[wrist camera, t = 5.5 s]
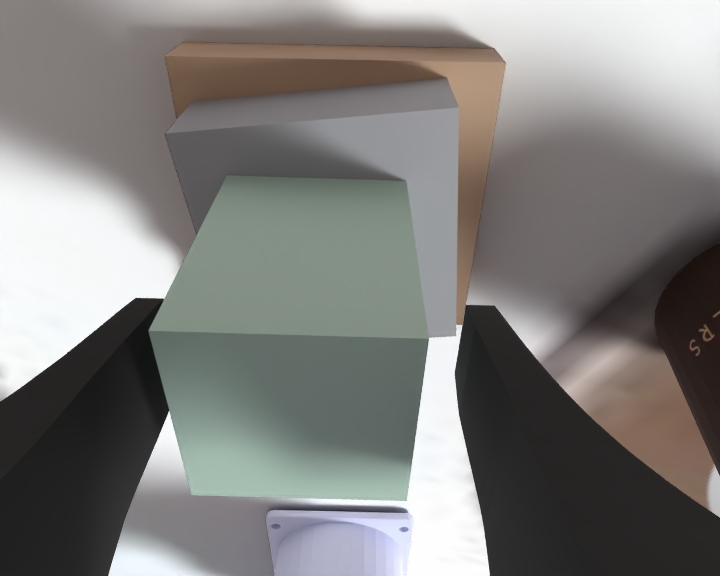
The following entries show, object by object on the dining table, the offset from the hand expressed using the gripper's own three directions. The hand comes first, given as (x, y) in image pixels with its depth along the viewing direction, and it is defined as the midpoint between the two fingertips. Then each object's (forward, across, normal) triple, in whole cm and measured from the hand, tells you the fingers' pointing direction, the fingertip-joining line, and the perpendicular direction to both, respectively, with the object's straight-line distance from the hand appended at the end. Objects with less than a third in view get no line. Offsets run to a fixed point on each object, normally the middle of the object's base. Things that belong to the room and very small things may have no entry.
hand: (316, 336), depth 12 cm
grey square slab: (+6, 0, 0) cm, 6 cm away
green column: (+3, 0, 0) cm, 4 cm away
